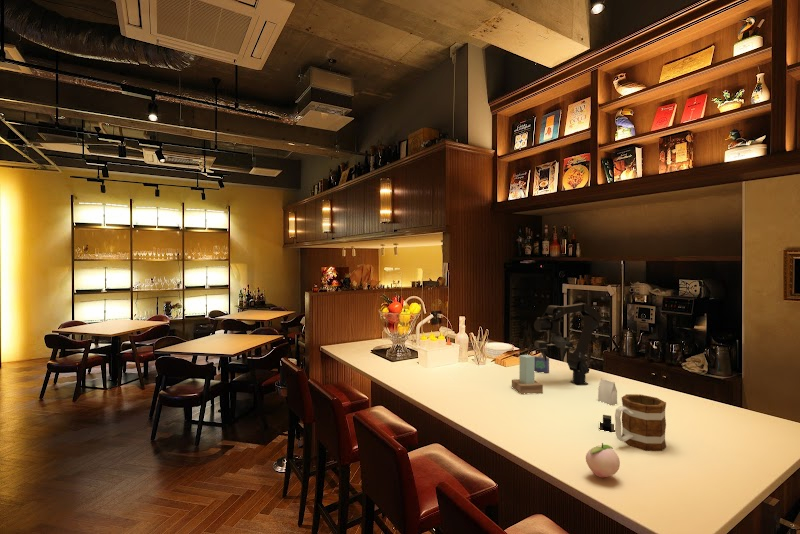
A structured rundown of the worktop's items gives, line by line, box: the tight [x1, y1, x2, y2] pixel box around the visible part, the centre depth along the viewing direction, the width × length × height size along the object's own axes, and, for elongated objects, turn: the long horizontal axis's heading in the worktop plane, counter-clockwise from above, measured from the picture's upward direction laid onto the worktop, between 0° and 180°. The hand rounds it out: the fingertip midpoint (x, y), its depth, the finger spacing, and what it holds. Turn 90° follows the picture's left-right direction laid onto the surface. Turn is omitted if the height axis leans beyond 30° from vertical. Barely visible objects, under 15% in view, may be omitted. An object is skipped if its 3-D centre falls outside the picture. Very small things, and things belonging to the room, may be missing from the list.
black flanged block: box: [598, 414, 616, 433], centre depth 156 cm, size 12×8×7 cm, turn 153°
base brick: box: [511, 379, 544, 395], centre depth 202 cm, size 11×11×4 cm
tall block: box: [519, 354, 535, 384], centre depth 202 cm, size 5×5×13 cm
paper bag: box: [597, 378, 618, 406], centre depth 185 cm, size 4×7×10 cm, turn 24°
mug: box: [614, 393, 667, 452], centre depth 141 cm, size 20×14×15 cm
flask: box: [533, 353, 550, 374], centre depth 237 cm, size 9×3×11 cm, turn 61°
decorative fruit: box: [585, 442, 621, 479], centre depth 119 cm, size 9×8×10 cm
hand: (553, 360), depth 210 cm, fingers open, 9 cm apart
